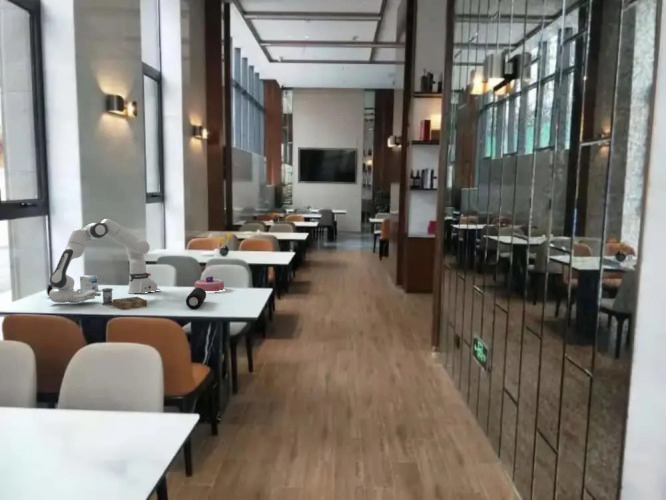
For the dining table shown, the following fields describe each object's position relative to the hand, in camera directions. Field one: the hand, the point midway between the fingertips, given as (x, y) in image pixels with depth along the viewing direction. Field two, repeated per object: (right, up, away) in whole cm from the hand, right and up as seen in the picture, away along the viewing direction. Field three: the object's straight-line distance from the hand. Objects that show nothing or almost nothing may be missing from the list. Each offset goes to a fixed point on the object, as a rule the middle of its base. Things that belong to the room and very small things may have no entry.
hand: (97, 296), depth 362 cm
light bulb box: (-27, 0, +50) cm, 57 cm away
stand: (+23, -6, -4) cm, 24 cm away
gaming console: (-39, -2, +29) cm, 49 cm away
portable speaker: (+64, -6, 0) cm, 64 cm away
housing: (+7, -5, 0) cm, 9 cm away
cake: (+61, -1, +54) cm, 81 cm away
